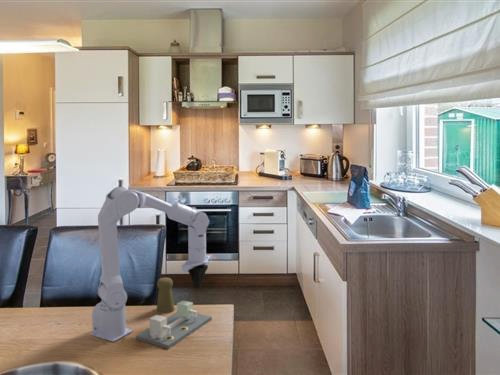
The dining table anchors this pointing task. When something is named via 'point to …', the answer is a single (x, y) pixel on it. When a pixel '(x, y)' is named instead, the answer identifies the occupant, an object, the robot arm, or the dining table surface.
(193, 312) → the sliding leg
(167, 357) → the dining table surface
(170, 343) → the plate
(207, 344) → the dining table surface
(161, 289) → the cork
